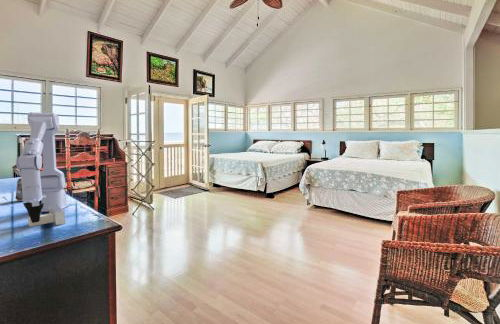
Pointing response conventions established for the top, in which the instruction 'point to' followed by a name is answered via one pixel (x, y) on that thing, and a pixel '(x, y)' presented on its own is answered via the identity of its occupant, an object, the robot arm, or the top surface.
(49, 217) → the rod
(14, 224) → the top surface
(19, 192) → the beverage can
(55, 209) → the housing
